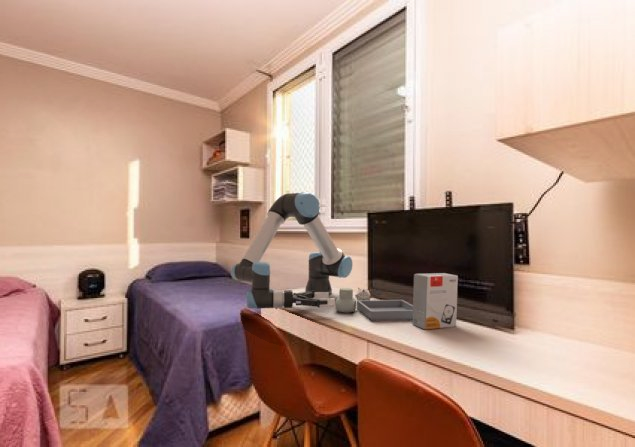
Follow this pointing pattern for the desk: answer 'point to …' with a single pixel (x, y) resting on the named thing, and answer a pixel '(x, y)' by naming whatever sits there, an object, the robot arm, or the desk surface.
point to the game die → (363, 294)
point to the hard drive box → (435, 300)
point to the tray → (385, 310)
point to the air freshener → (345, 301)
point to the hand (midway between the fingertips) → (331, 298)
